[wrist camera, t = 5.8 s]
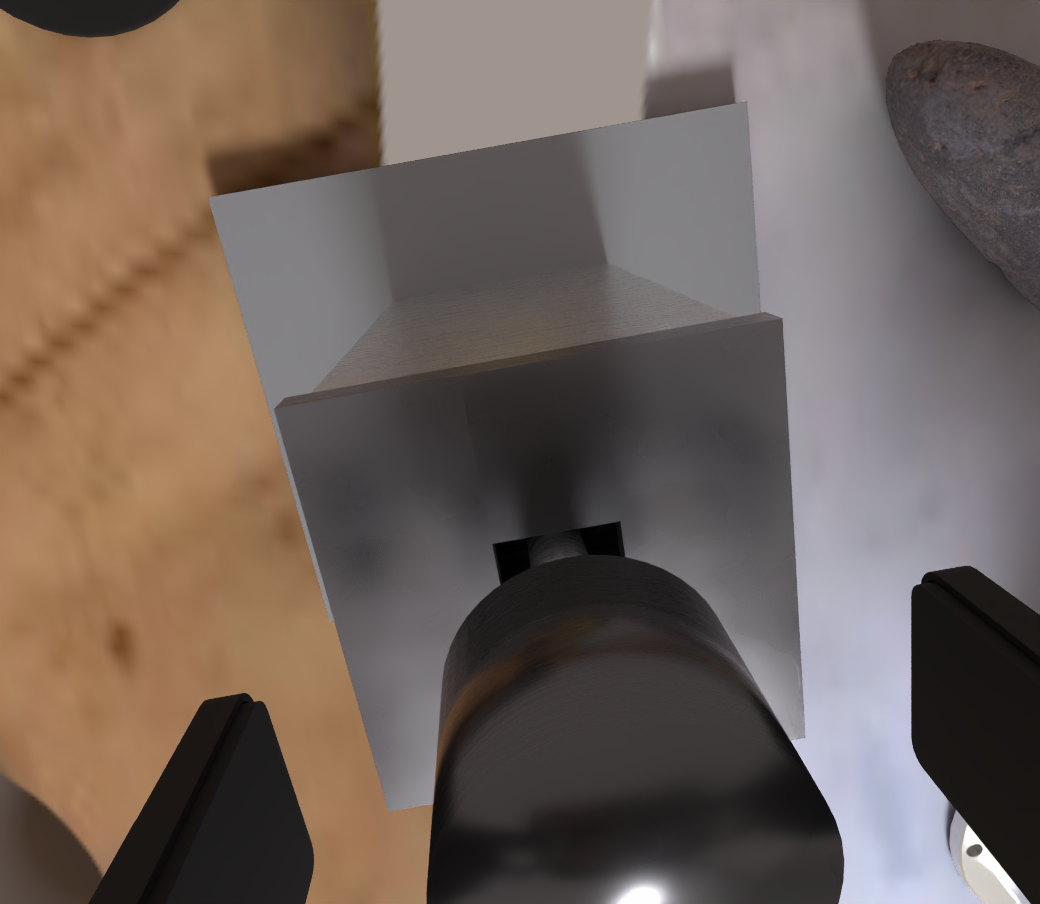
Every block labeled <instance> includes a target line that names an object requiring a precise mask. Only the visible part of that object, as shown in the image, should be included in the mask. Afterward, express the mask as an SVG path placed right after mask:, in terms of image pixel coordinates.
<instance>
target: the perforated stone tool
mask: <svg viewBox="0 0 1040 904" xmlns="http://www.w3.org/2000/svg"><path fill="white" fill-rule="evenodd" d="M892 60H893V61H892V63H891V65H890V67H889V68H888V73H887V78H886V102H887V106H888V111H889V115H890V119H891V124H892V127H893V130H894V132H895V135H896V137H897V140H898V143H899V145H900V148H901V150H902V151H903V154H904V156H905V157H906V160H907V162H908V163H909V165H910V167H911V169H912V170H913V172H914V174H915V175H916V176H917V178H918V180H919V181H920V183H921V184H922V185H923V187H924V188H925V189H926V191H927V192H928V193H929V194H930V195H931V197H932V198H933V199H934V200H935V202H936V203H937V205H938V206H939V207H940V208H941V210H942V211H943V212H944V213H945V214H946V215H947V216H948V217H949V219H950V220H951V221H952V222H953V223H954V224H955V225H956V227H957V228H958V229H959V230H960V231H961V232H962V233H963V234H964V235H965V236H966V237H967V238H968V239H969V240H970V241H971V242H972V243H973V244H974V246H975V247H976V248H977V249H978V250H979V251H980V252H981V253H982V254H983V255H984V257H985V258H986V259H987V260H988V261H990V262H991V263H995V264H996V265H998V266H999V267H1000V268H1001V269H1002V272H1003V274H1004V276H1005V277H1006V278H1007V280H1008V281H1009V282H1010V283H1011V284H1012V285H1013V286H1014V287H1015V288H1016V290H1017V291H1018V292H1020V293H1021V294H1022V295H1023V296H1024V297H1025V298H1026V299H1027V300H1029V301H1030V302H1031V303H1032V304H1033V305H1034V306H1036V307H1037V308H1038V309H1039V310H1040V67H1039V66H1037V65H1035V64H1032V63H1030V62H1028V61H1026V60H1024V59H1022V58H1020V57H1018V56H1015V55H1013V54H1009V53H1008V52H1005V51H1002V50H999V49H995V48H992V47H988V46H984V45H981V44H977V43H971V42H966V43H965V42H958V41H941V40H937V41H936V40H933V41H928V42H924V43H916V44H915V45H913V46H910V47H909V48H907V49H905V50H903V51H902V52H901V53H898V54H897V55H896V56H895V57H894V58H893V59H892Z"/></svg>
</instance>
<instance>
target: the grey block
mask: <svg viewBox="0 0 1040 904" xmlns="http://www.w3.org/2000/svg"><path fill="white" fill-rule="evenodd" d="M274 412H275V415H276V419H277V422H278V426H279V429H280V433H281V436H282V440H283V443H284V447H285V450H286V454H287V457H288V461H289V464H290V468H291V471H292V475H293V478H294V482H295V485H296V489H297V492H298V496H299V499H300V503H301V506H302V510H303V513H304V517H305V520H306V524H307V527H308V531H309V534H310V538H311V541H312V545H313V548H314V552H315V555H316V559H317V562H318V566H319V569H320V573H321V576H322V580H323V583H324V587H325V590H326V594H327V597H328V601H329V604H330V608H331V611H332V615H333V618H334V622H335V625H336V629H337V632H338V636H339V639H340V643H341V646H342V650H343V653H344V657H345V660H346V664H347V668H348V671H349V675H350V678H351V682H352V685H353V689H354V692H355V696H356V699H357V703H358V706H359V710H360V713H361V717H362V720H363V724H364V727H365V731H366V734H367V738H368V741H369V745H370V748H371V752H372V755H373V759H374V762H375V766H376V769H377V773H378V776H379V780H380V783H381V787H382V790H383V794H384V797H385V801H386V804H387V808H388V811H389V812H390V811H395V810H401V809H407V808H412V807H418V806H424V805H429V804H433V798H434V785H435V771H436V758H437V744H438V730H439V717H440V703H441V690H442V678H443V671H444V665H445V661H446V658H447V654H448V651H449V648H450V646H451V643H452V641H453V639H454V637H455V635H456V633H457V631H458V629H459V628H460V626H461V625H462V623H463V622H464V620H465V619H466V617H467V616H468V615H469V614H470V612H471V611H472V610H473V609H474V608H475V607H476V606H477V605H478V603H479V602H480V601H481V600H483V599H484V598H485V597H486V596H487V595H488V594H489V593H491V592H492V591H493V590H494V589H495V588H497V587H498V586H500V585H501V584H503V583H504V582H506V581H507V580H509V579H510V578H512V577H514V576H516V575H518V574H520V573H522V572H524V571H526V570H528V569H530V568H531V567H530V561H529V554H528V547H527V540H526V538H529V537H534V536H540V535H545V534H551V533H557V532H562V531H568V530H574V529H579V528H580V531H581V534H582V537H583V540H584V544H585V547H586V550H587V553H588V555H611V556H620V557H627V558H631V559H635V560H639V561H643V562H647V563H649V564H652V565H654V566H657V567H660V568H662V569H664V570H666V571H668V572H670V573H672V574H673V575H675V576H677V577H679V578H680V579H682V580H683V581H684V582H686V583H687V584H688V585H690V586H691V587H692V588H694V589H695V590H696V591H697V592H698V593H699V594H700V595H701V596H702V597H703V598H704V599H705V600H706V601H707V603H708V604H709V605H710V607H711V608H712V609H713V611H714V612H715V614H716V615H717V617H718V618H719V620H720V622H721V623H722V625H723V627H724V629H725V630H726V632H727V634H728V635H729V637H730V639H731V640H732V642H733V644H734V646H735V647H736V649H737V651H738V652H739V654H740V656H741V657H742V659H743V661H744V663H745V664H746V666H747V668H748V669H749V671H750V673H751V674H752V676H753V678H754V680H755V681H756V683H757V685H758V686H759V688H760V690H761V691H762V693H763V695H764V697H765V698H766V700H767V702H768V703H769V705H770V707H771V709H772V710H773V712H774V714H775V715H776V717H777V719H778V720H779V722H780V724H781V726H782V727H783V729H784V731H785V732H786V734H787V736H788V737H789V739H790V740H795V739H801V738H805V723H804V705H803V687H802V669H801V650H800V632H799V614H798V596H797V577H796V559H795V541H794V523H793V504H792V486H791V468H790V450H789V431H788V413H787V395H786V377H785V358H784V340H783V322H782V318H780V317H777V316H774V315H772V314H769V313H766V312H763V313H757V314H752V315H746V316H740V317H735V316H732V315H730V314H728V313H725V312H723V311H721V310H718V309H716V308H714V307H711V306H709V305H707V304H704V303H702V302H699V301H697V300H695V299H692V298H690V297H688V296H685V295H683V294H681V293H678V292H676V291H673V290H671V289H669V288H666V287H664V286H662V285H659V284H657V283H655V282H652V281H650V280H648V279H645V278H643V277H640V276H638V275H636V274H633V273H631V272H629V271H626V270H624V269H622V268H619V267H617V266H615V265H612V264H610V263H603V264H597V265H591V266H586V267H580V268H575V269H569V270H563V271H558V272H552V273H546V274H541V275H535V276H530V277H524V278H518V279H513V280H507V281H502V282H496V283H490V284H485V285H479V286H473V287H468V288H462V289H457V290H451V291H445V292H440V293H434V294H429V295H423V296H417V297H412V298H406V299H400V300H395V301H393V302H392V303H391V304H390V305H389V306H388V307H387V308H386V309H385V311H384V312H383V313H382V314H381V315H380V316H379V317H378V318H377V320H376V321H375V322H374V323H373V324H372V325H371V326H370V327H369V328H368V330H367V331H366V332H365V333H364V334H363V335H362V336H361V337H360V339H359V340H358V341H357V342H356V343H355V344H354V345H353V346H352V347H351V349H350V350H349V351H348V352H347V353H346V354H345V355H344V356H343V358H342V359H341V360H340V361H339V362H338V363H337V364H336V365H335V366H334V368H333V369H332V370H331V371H330V372H329V373H328V374H327V375H326V377H325V378H324V379H323V380H322V381H321V382H320V383H319V384H318V385H317V387H316V388H315V389H314V390H313V391H312V392H311V393H308V394H302V395H297V396H291V397H285V398H284V399H283V400H282V401H281V402H280V403H279V404H278V405H277V406H276V407H275V408H274Z"/></svg>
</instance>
